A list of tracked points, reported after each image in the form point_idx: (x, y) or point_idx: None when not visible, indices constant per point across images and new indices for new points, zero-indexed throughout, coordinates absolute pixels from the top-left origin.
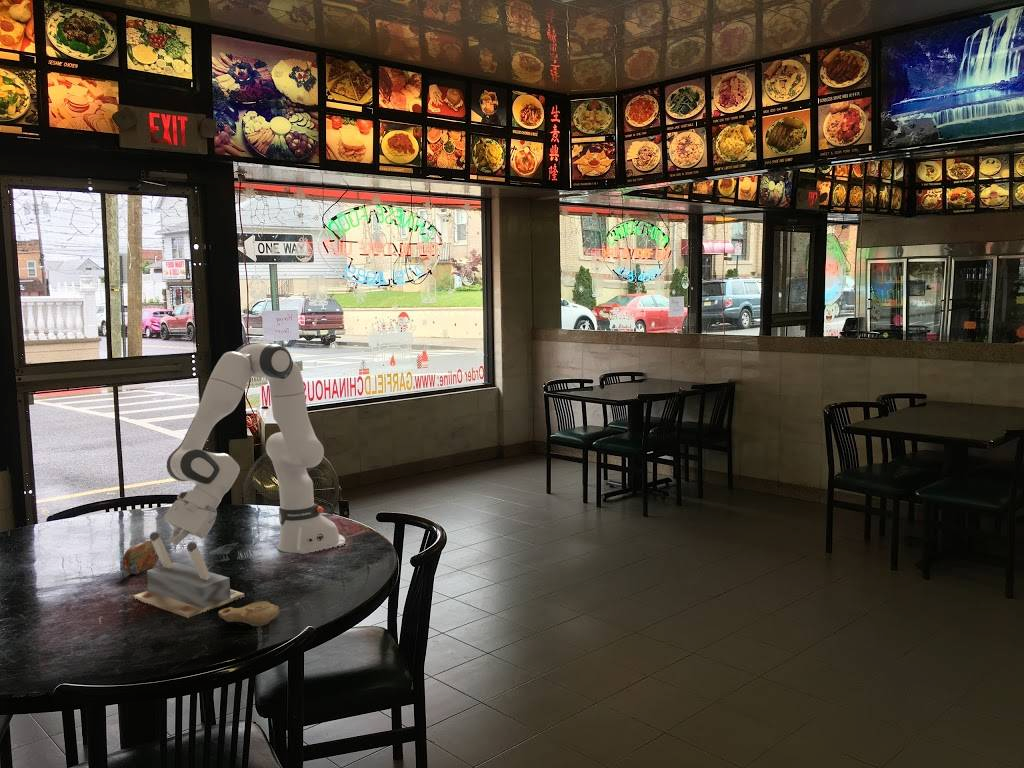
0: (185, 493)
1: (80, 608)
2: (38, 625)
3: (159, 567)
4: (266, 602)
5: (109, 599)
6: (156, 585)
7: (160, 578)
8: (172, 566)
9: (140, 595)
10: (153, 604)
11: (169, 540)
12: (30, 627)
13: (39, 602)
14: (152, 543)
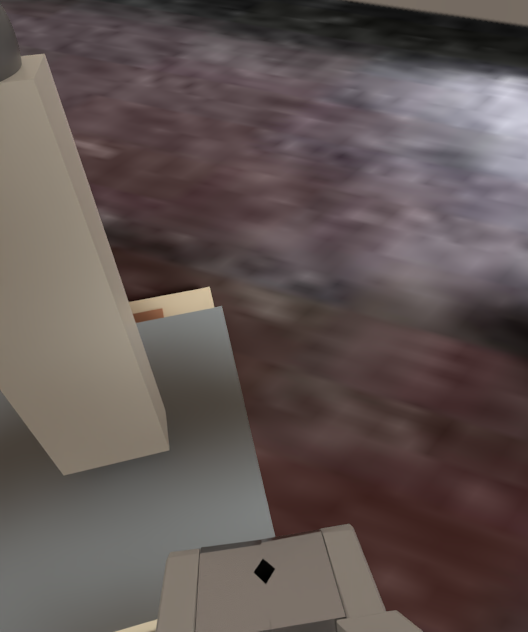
0: None
1: (262, 129)
2: (197, 26)
3: (222, 401)
4: None
5: (289, 221)
6: None
7: None
8: (154, 501)
9: (177, 309)
10: None
11: (325, 528)
12: (198, 13)
13: (434, 67)
14: (78, 161)
